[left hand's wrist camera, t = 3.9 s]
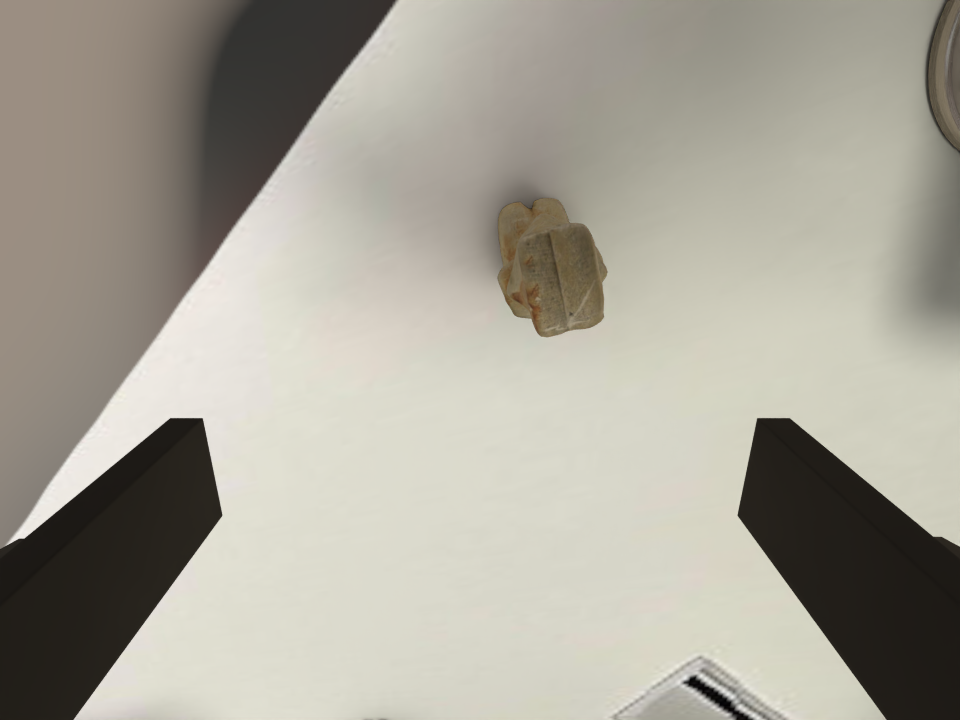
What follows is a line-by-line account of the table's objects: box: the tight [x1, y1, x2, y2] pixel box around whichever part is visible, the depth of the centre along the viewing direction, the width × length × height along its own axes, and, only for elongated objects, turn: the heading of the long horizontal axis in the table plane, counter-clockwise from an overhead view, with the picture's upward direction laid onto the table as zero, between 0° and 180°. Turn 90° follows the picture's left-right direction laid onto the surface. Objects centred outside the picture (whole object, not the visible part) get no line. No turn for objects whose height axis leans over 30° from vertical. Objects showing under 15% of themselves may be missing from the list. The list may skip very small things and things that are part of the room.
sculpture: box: [498, 198, 607, 337], centre depth 31 cm, size 6×7×15 cm
